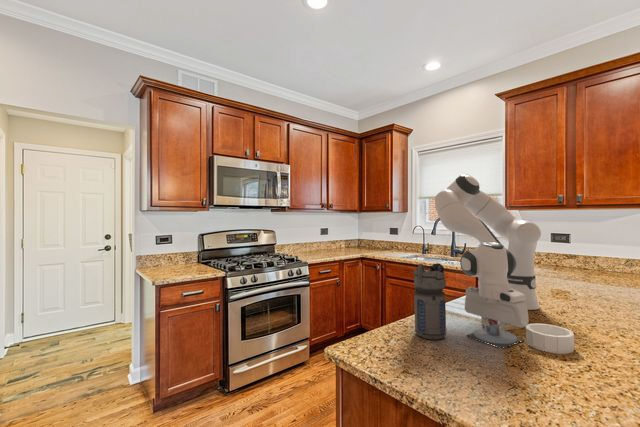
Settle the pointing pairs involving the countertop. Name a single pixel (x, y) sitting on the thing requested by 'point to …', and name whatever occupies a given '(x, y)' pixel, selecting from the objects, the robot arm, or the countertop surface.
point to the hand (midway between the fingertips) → (494, 332)
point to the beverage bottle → (430, 302)
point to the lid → (495, 336)
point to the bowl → (550, 338)
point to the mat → (494, 344)
